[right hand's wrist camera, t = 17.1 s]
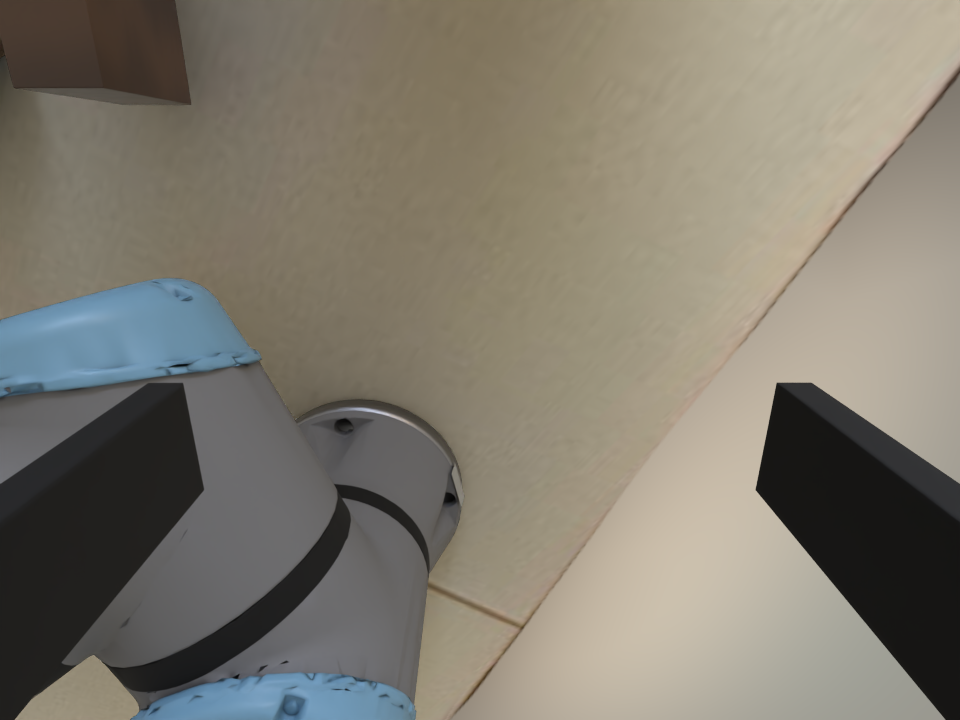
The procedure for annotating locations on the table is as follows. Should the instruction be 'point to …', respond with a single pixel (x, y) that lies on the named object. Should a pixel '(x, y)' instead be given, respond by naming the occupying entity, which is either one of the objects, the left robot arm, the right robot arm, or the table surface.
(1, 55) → the stone
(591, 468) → the table surface
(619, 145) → the table surface
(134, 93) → the walnut bar
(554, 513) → the table surface
